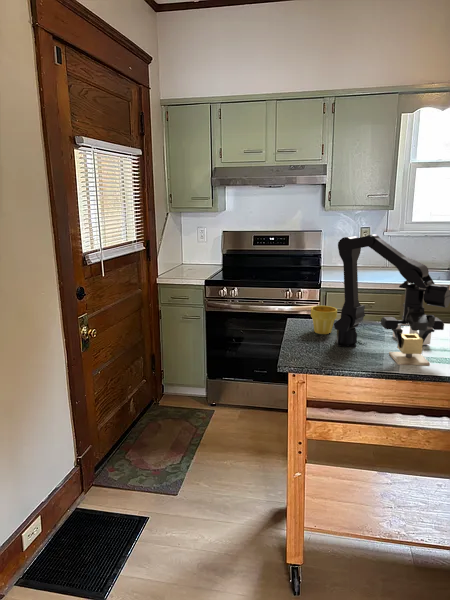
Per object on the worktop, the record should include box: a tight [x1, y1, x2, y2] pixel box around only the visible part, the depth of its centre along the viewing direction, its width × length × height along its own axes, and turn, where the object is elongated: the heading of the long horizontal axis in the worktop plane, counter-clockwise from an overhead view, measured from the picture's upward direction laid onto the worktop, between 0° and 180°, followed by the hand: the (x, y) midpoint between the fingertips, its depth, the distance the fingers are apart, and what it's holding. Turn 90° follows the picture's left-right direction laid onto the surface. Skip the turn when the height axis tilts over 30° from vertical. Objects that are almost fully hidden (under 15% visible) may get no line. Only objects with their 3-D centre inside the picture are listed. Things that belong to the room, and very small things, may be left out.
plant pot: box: [310, 305, 338, 335], centre depth 181 cm, size 10×10×10 cm
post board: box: [388, 351, 431, 366], centre depth 151 cm, size 10×10×6 cm
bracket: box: [392, 326, 432, 346], centre depth 169 cm, size 13×7×8 cm, turn 12°
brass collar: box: [397, 334, 424, 355], centre depth 150 cm, size 6×6×5 cm
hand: (409, 347), depth 150 cm, fingers closed on brass collar, 6 cm apart
